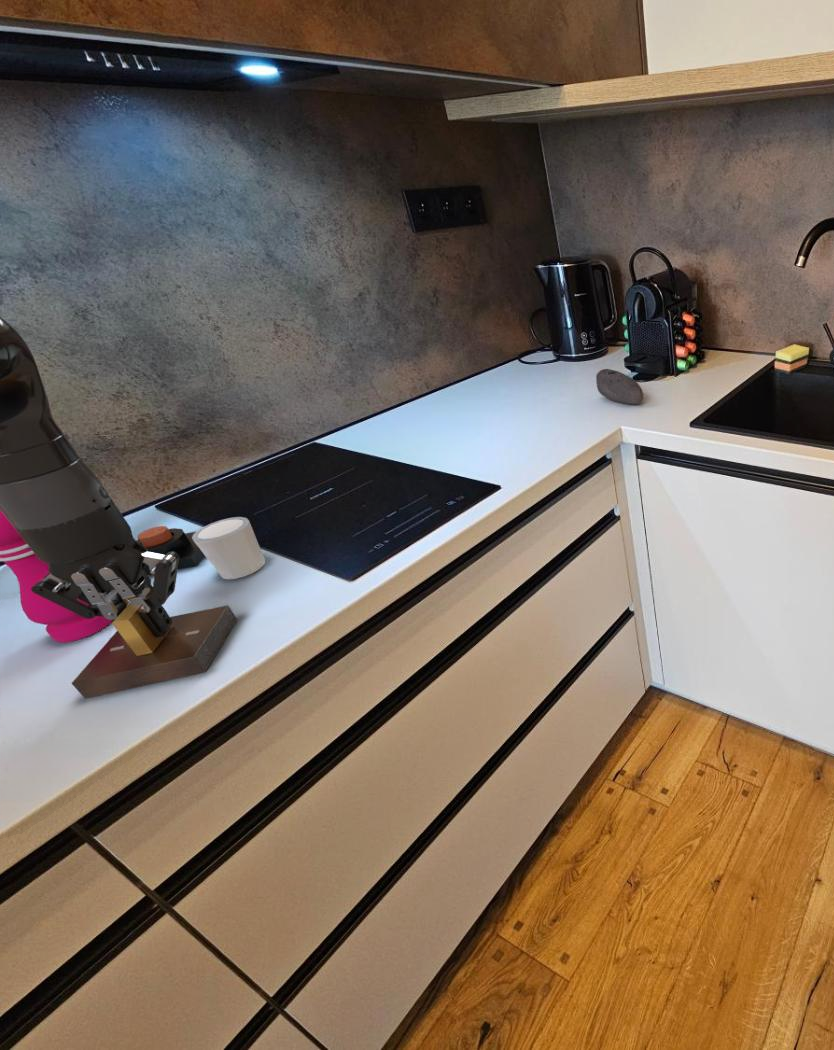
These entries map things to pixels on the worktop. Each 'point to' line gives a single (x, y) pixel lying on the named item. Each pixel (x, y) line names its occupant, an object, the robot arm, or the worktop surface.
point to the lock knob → (136, 631)
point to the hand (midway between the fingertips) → (153, 634)
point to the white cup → (230, 547)
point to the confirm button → (154, 536)
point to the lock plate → (158, 654)
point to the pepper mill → (61, 622)
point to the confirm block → (178, 549)
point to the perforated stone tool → (619, 387)
